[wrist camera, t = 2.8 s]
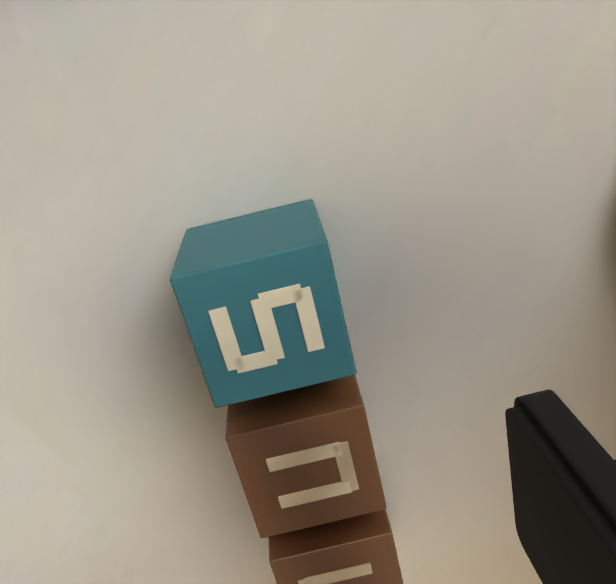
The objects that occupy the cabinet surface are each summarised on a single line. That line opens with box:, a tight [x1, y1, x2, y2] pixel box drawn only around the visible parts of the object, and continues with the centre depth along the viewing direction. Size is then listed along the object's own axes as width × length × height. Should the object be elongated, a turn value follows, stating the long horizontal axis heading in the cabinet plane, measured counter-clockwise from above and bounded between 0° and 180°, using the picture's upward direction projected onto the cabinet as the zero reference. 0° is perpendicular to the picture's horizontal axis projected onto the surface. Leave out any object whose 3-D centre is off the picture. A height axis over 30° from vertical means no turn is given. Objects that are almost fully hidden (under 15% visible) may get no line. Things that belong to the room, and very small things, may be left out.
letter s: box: [170, 199, 356, 408], centre depth 19 cm, size 4×4×4 cm
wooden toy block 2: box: [269, 509, 403, 584], centre depth 23 cm, size 4×4×4 cm
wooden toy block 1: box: [226, 375, 387, 538], centre depth 21 cm, size 4×4×4 cm
